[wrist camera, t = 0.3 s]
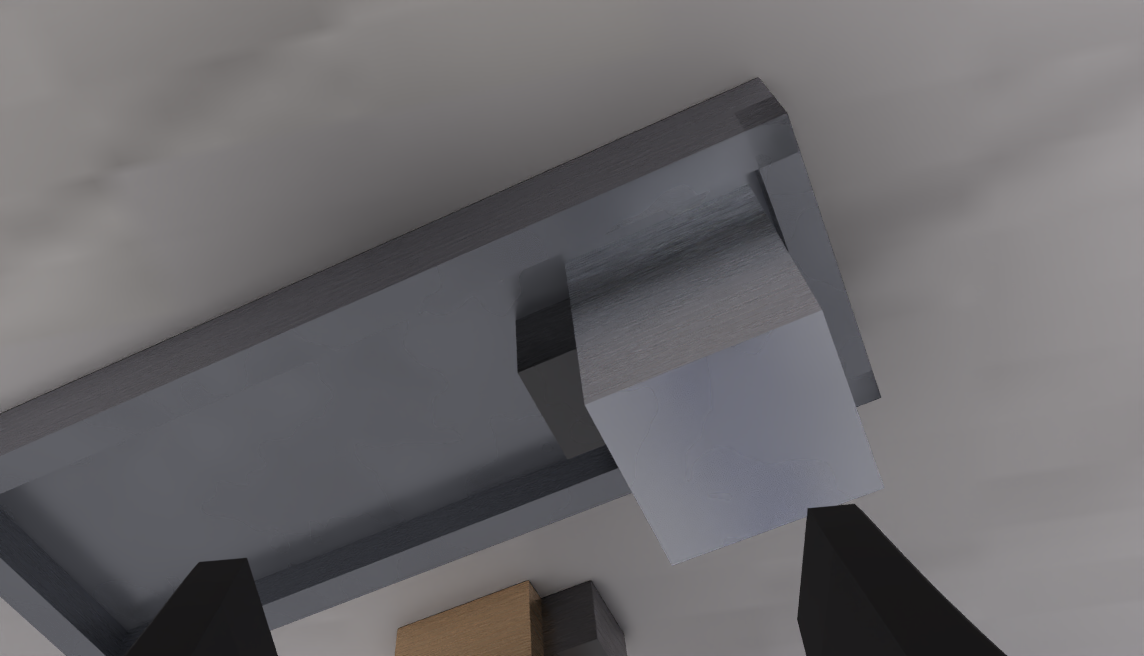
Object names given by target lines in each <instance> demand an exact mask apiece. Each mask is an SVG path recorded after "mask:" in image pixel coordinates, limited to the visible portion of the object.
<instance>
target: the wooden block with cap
mask: <svg viewBox="0 0 1144 656" xmlns="http://www.w3.org/2000/svg"><path fill="white" fill-rule="evenodd" d="M395 656H627V652H626V645H625V638H624V634H623V632H622V630H621V629H620V627H619V625H618V624H617V622H616V621H615V619H614V617H613V616H612V614H611V613H610V611H609V609H608V608H607V606H606V604H605V603H604V601H603V600H602V598H601V596H600V595H599V593H598V591H597V590H596V588H595V587H594V585H593V583H592V582H591V581H588V582H586V583H583V584H580V585H578V586H575V587H572V588H569V589H567V590H564V591H561V592H558V593H556V594H553V595H550V596H548V597H545V598H542V599H541V598H540V597H539V595H538V594H537V592H536V591H535V589H534V588H533V586H532V585H531V583H530V582H529V580H528V581H525V582H523V583H520V584H517V585H515V586H512V587H509V588H507V589H504V590H501V591H498V592H496V593H493V594H490V595H488V596H485V597H482V598H480V599H477V600H474V601H471V602H469V603H466V604H463V605H461V606H458V607H455V608H453V609H450V610H447V611H444V612H442V613H439V614H436V615H434V616H431V617H428V618H426V619H423V620H420V621H417V622H415V623H412V624H409V625H407V626H404V627H401V628H399V629H398V631H397V640H396V649H395Z"/></svg>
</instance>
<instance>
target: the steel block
mask: <svg viewBox="0 0 1144 656" xmlns="http://www.w3.org/2000/svg"><path fill="white" fill-rule="evenodd" d="M565 268H566V275H567V282H568V289H569V296H570V298H568V299H565V300H563V301H560V302H558V303H556V304H553V305H551V306H549V307H546V308H544V309H541V310H539V311H537V312H534V313H532V314H529V315H527V316H525V317H522V318H520V319H518V320H516V346H517V372H518V375H519V376H520V378H521V380H522V382H523V383H524V385H525V387H526V388H527V390H528V392H529V394H530V395H531V397H532V399H533V401H534V402H535V404H536V406H537V407H538V409H539V411H540V413H541V414H542V416H543V418H544V420H545V421H546V423H547V425H548V427H549V428H550V430H551V432H552V433H553V435H554V437H555V439H556V440H557V442H558V444H559V446H560V447H561V449H562V451H563V452H564V454H565V456H566V458H567V459H571V458H573V457H576V456H578V455H581V454H583V453H586V452H588V451H591V450H594V449H596V448H599V447H601V446H604V445H607V447H608V449H609V451H610V453H611V455H612V456H613V458H614V460H615V462H616V464H617V466H618V467H619V469H620V471H621V473H622V475H623V477H624V478H625V480H626V482H627V484H628V486H629V488H630V490H631V491H632V493H633V495H634V497H635V499H636V501H637V502H638V504H639V506H640V508H641V510H642V512H643V513H644V515H645V517H646V519H647V521H648V523H649V525H650V526H651V528H652V530H653V532H654V534H655V536H656V537H657V539H658V541H659V543H660V545H661V547H662V548H663V550H664V552H665V554H666V556H667V558H668V559H669V561H670V563H671V565H672V566H673V565H676V564H678V563H681V562H684V561H687V560H689V559H692V558H695V557H697V556H700V555H703V554H706V553H708V552H711V551H714V550H717V549H719V548H722V547H725V546H727V545H730V544H733V543H736V542H738V541H741V540H744V539H747V538H749V537H752V536H755V535H758V534H760V533H763V532H766V531H768V530H771V529H774V528H777V527H779V526H782V525H785V524H788V523H790V522H793V521H796V520H798V519H801V518H804V517H807V510H808V508H815V507H826V506H837V505H839V504H842V503H845V502H848V501H850V500H853V499H856V498H859V497H861V496H864V495H867V494H869V493H872V492H875V491H878V490H880V489H883V488H884V485H883V482H882V479H881V477H880V474H879V471H878V468H877V465H876V462H875V459H874V457H873V454H872V451H871V448H870V445H869V442H868V439H867V437H866V434H865V431H864V428H863V425H862V422H861V419H860V417H859V414H858V411H857V408H856V405H855V402H854V399H853V397H852V394H851V391H850V388H849V385H848V382H847V380H846V377H845V374H844V371H843V368H842V365H841V362H840V360H839V357H838V354H837V351H836V348H835V345H834V342H833V340H832V337H831V334H830V331H829V328H828V325H827V322H826V320H825V317H824V314H823V311H822V309H821V307H820V305H819V304H818V302H817V300H816V299H815V297H814V295H813V294H812V292H811V290H810V288H809V287H808V285H807V283H806V282H805V280H804V278H803V276H802V275H801V273H800V271H799V270H798V268H797V266H796V265H795V263H794V261H793V259H792V258H791V256H790V254H789V253H788V251H787V249H786V247H785V246H784V244H783V242H782V241H781V239H780V237H779V235H778V234H777V232H776V230H775V229H774V227H773V225H772V224H771V222H770V220H769V218H768V217H767V215H766V213H765V212H764V210H763V208H762V206H761V205H760V203H759V201H758V200H757V198H756V196H755V195H754V193H753V191H752V189H751V188H750V186H749V184H748V185H745V186H743V187H741V188H738V189H736V190H734V191H731V192H729V193H726V194H724V195H722V196H719V197H717V198H715V199H712V200H710V201H708V202H705V203H703V204H701V205H698V206H696V207H694V208H691V209H689V210H687V211H684V212H682V213H680V214H677V215H675V216H673V217H670V218H668V219H666V220H663V221H661V222H658V223H656V224H654V225H651V226H649V227H647V228H644V229H642V230H640V231H637V232H635V233H633V234H630V235H628V236H626V237H623V238H621V239H619V240H616V241H614V242H612V243H609V244H607V245H605V246H602V247H600V248H598V249H595V250H593V251H590V252H588V253H586V254H583V255H581V256H579V257H576V258H574V259H572V260H569V261H567V262H565Z"/></svg>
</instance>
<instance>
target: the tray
mask: <svg viewBox="0 0 1144 656" xmlns="http://www.w3.org/2000/svg"><path fill="white" fill-rule="evenodd" d="M748 184H749V186H750V188H751V189H752V191H753V193H754V195H755V196H756V198H757V200H758V201H759V203H760V205H761V206H762V208H763V210H764V212H765V213H766V215H767V217H768V218H769V220H770V222H771V224H772V225H773V227H774V229H775V230H776V232H777V234H778V235H779V237H780V239H781V241H782V242H783V244H784V246H785V247H786V249H787V251H788V253H789V254H790V256H791V258H792V259H793V261H794V263H795V265H796V266H797V268H798V270H799V271H800V273H801V275H802V276H803V278H804V280H805V282H806V283H807V285H808V287H809V288H810V290H811V292H812V294H813V295H814V297H815V299H816V300H817V302H818V304H819V305H820V307H821V309H822V311H823V314H824V317H825V320H826V322H827V325H828V328H829V331H830V334H831V337H832V340H833V342H834V345H835V348H836V351H837V354H838V357H839V360H840V362H841V365H842V368H843V371H844V374H845V377H846V380H847V382H848V385H849V388H850V391H851V394H852V397H853V399H854V402H855V405H856V407H858V406H861V405H863V404H866V403H868V402H871V401H874V400H876V399H879V398H881V395H880V392H879V389H878V386H877V383H876V380H875V377H874V374H873V371H872V368H871V365H870V362H869V359H868V356H867V353H866V350H865V347H864V344H863V341H862V338H861V335H860V332H859V329H858V326H857V323H856V320H855V317H854V314H853V311H852V308H851V305H850V302H849V298H848V295H847V292H846V289H845V286H844V283H843V280H842V277H841V274H840V271H839V268H838V265H837V262H836V259H835V256H834V253H833V250H832V247H831V244H830V241H829V238H828V235H827V232H826V229H825V226H824V223H823V220H822V217H821V214H820V211H819V208H818V205H817V202H816V198H815V195H814V192H813V189H812V186H811V183H810V180H809V177H808V174H807V171H806V168H805V165H804V162H803V159H802V156H801V153H800V150H799V147H798V144H797V141H796V138H795V135H794V132H793V129H792V126H791V123H790V120H789V117H788V114H787V112H786V111H785V110H784V108H783V107H782V106H781V105H780V103H779V102H778V101H777V100H776V99H775V97H774V96H773V95H772V94H771V92H770V91H769V90H768V89H767V87H766V86H765V85H764V84H763V82H762V81H761V80H760V79H759V78H756V79H754V80H752V81H750V82H747V83H745V84H743V85H741V86H738V87H736V88H734V89H732V90H729V91H727V92H725V93H723V94H720V95H718V96H716V97H714V98H711V99H709V100H707V101H705V102H702V103H700V104H698V105H695V106H693V107H691V108H689V109H686V110H684V111H682V112H680V113H677V114H675V115H673V116H671V117H668V118H666V119H664V120H662V121H659V122H657V123H655V124H653V125H650V126H648V127H646V128H644V129H641V130H639V131H637V132H635V133H632V134H630V135H628V136H626V137H623V138H621V139H619V140H617V141H614V142H612V143H610V144H608V145H605V146H603V147H601V148H599V149H596V150H594V151H592V152H590V153H587V154H585V155H583V156H581V157H578V158H576V159H574V160H572V161H569V162H567V163H565V164H563V165H560V166H558V167H556V168H554V169H551V170H549V171H547V172H545V173H542V174H540V175H538V176H536V177H533V178H531V179H529V180H527V181H524V182H522V183H520V184H518V185H515V186H513V187H511V188H509V189H506V190H504V191H502V192H500V193H497V194H495V195H493V196H490V197H488V198H486V199H484V200H481V201H479V202H477V203H475V204H472V205H470V206H468V207H466V208H463V209H461V210H459V211H457V212H454V213H452V214H450V215H448V216H445V217H443V218H441V219H439V220H436V221H434V222H432V223H430V224H427V225H425V226H423V227H421V228H418V229H416V230H414V231H412V232H409V233H407V234H405V235H403V236H400V237H398V238H396V239H394V240H391V241H389V242H387V243H385V244H382V245H380V246H378V247H376V248H373V249H371V250H369V251H367V252H364V253H362V254H360V255H358V256H355V257H353V258H351V259H349V260H346V261H344V262H342V263H340V264H337V265H335V266H333V267H331V268H328V269H326V270H324V271H322V272H319V273H317V274H315V275H313V276H310V277H308V278H306V279H304V280H301V281H299V282H297V283H294V284H292V285H290V286H288V287H285V288H283V289H281V290H279V291H276V292H274V293H272V294H270V295H267V296H265V297H263V298H261V299H258V300H256V301H254V302H252V303H249V304H247V305H245V306H243V307H240V308H238V309H236V310H234V311H231V312H229V313H227V314H225V315H222V316H220V317H218V318H216V319H213V320H211V321H209V322H207V323H204V324H202V325H200V326H198V327H195V328H193V329H191V330H189V331H186V332H184V333H182V334H180V335H177V336H175V337H173V338H171V339H168V340H166V341H164V342H162V343H159V344H157V345H155V346H153V347H150V348H148V349H146V350H144V351H141V352H139V353H137V354H135V355H132V356H130V357H128V358H126V359H123V360H121V361H119V362H117V363H114V364H112V365H110V366H108V367H105V368H103V369H101V370H99V371H96V372H94V373H92V374H89V375H87V376H85V377H83V378H80V379H78V380H76V381H74V382H71V383H69V384H67V385H65V386H62V387H60V388H58V389H56V390H53V391H51V392H49V393H47V394H44V395H42V396H40V397H38V398H35V399H33V400H31V401H29V402H26V403H24V404H22V405H20V406H17V407H15V408H13V409H11V410H8V411H6V412H4V413H2V414H0V597H1V598H3V599H4V600H5V601H6V602H7V603H8V604H9V605H10V606H11V607H13V608H14V609H15V610H16V611H17V612H18V613H19V614H20V615H21V616H23V617H24V618H25V619H26V620H27V621H28V622H29V623H30V624H31V625H33V626H34V627H35V628H36V629H37V630H38V631H39V632H40V633H41V634H43V635H44V636H45V637H46V638H47V639H48V640H49V641H50V642H51V643H53V644H54V645H55V646H56V647H57V648H58V649H59V650H60V651H61V652H63V653H64V654H65V655H66V656H124V655H125V654H126V653H127V651H128V650H129V649H130V648H131V646H132V645H133V644H134V643H135V641H136V640H137V639H138V637H139V636H140V635H141V634H142V632H143V631H144V630H145V629H146V627H147V626H148V625H149V624H150V622H151V621H152V620H153V619H154V617H155V616H156V615H157V613H158V612H159V611H160V610H161V608H162V607H163V606H164V604H165V603H166V602H167V601H168V599H169V598H170V597H171V596H172V594H173V593H174V592H175V590H176V589H177V588H178V587H179V585H180V584H181V583H182V582H183V580H184V579H185V578H186V577H187V575H188V574H189V573H190V572H191V570H192V569H193V568H194V567H195V566H196V565H197V564H198V563H199V562H204V561H215V560H227V559H238V558H247V559H248V562H249V566H250V569H251V572H252V575H253V578H254V581H255V585H256V588H257V591H258V594H259V597H260V601H261V604H262V607H263V610H264V613H265V616H266V620H267V623H268V626H269V629H270V631H271V630H273V629H276V628H279V627H281V626H284V625H286V624H289V623H292V622H294V621H297V620H300V619H302V618H305V617H307V616H310V615H313V614H315V613H318V612H320V611H323V610H326V609H328V608H331V607H334V606H336V605H339V604H341V603H344V602H347V601H349V600H352V599H355V598H357V597H360V596H362V595H365V594H368V593H370V592H373V591H376V590H378V589H381V588H383V587H386V586H389V585H391V584H394V583H397V582H399V581H402V580H404V579H407V578H410V577H412V576H415V575H417V574H420V573H423V572H425V571H428V570H431V569H433V568H436V567H438V566H441V565H444V564H446V563H449V562H452V561H454V560H457V559H459V558H462V557H465V556H467V555H470V554H473V553H475V552H478V551H480V550H483V549H486V548H488V547H491V546H494V545H496V544H499V543H501V542H504V541H507V540H509V539H512V538H514V537H517V536H520V535H522V534H525V533H528V532H530V531H533V530H535V529H538V528H541V527H543V526H546V525H549V524H551V523H554V522H556V521H559V520H562V519H564V518H567V517H570V516H572V515H575V514H577V513H580V512H583V511H585V510H588V509H591V508H593V507H596V506H598V505H601V504H604V503H606V502H609V501H611V500H614V499H617V498H619V497H622V496H625V495H627V494H630V493H632V491H631V490H630V488H629V486H628V484H627V482H626V480H625V478H624V477H623V475H622V473H621V471H620V469H619V467H618V466H617V464H616V462H615V460H614V458H613V456H612V455H611V453H610V451H609V449H608V447H607V445H604V446H601V447H599V448H596V449H594V450H591V451H588V452H586V453H583V454H581V455H578V456H576V457H573V458H571V459H567V458H566V456H565V454H564V452H563V451H562V449H561V447H560V446H559V444H558V442H557V440H556V439H555V437H554V435H553V433H552V432H551V430H550V428H549V427H548V425H547V423H546V421H545V420H544V418H543V416H542V414H541V413H540V411H539V409H538V407H537V406H536V404H535V402H534V401H533V399H532V397H531V395H530V394H529V392H528V390H527V388H526V387H525V385H524V383H523V382H522V380H521V378H520V376H519V375H518V372H517V346H516V320H518V319H520V318H522V317H525V316H527V315H529V314H532V313H534V312H537V311H539V310H541V309H544V308H546V307H549V306H551V305H553V304H556V303H558V302H560V301H563V300H565V299H568V298H570V296H569V289H568V282H567V275H566V268H565V262H567V261H569V260H572V259H574V258H576V257H579V256H581V255H583V254H586V253H588V252H590V251H593V250H595V249H598V248H600V247H602V246H605V245H607V244H609V243H612V242H614V241H616V240H619V239H621V238H623V237H626V236H628V235H630V234H633V233H635V232H637V231H640V230H642V229H644V228H647V227H649V226H651V225H654V224H656V223H658V222H661V221H663V220H666V219H668V218H670V217H673V216H675V215H677V214H680V213H682V212H684V211H687V210H689V209H691V208H694V207H696V206H698V205H701V204H703V203H705V202H708V201H710V200H712V199H715V198H717V197H719V196H722V195H724V194H726V193H729V192H731V191H734V190H736V189H738V188H741V187H743V186H745V185H748Z"/></svg>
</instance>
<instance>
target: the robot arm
mask: <svg viewBox="0 0 1144 656" xmlns="http://www.w3.org/2000/svg"><path fill="white" fill-rule="evenodd" d="M797 620H798V624H799V628H800V632H801V636H802V640H803V644H804V648H805V652H806V656H1007V655H1006V654H1005V653H1003V652H1002V651H1001V650H1000V649H999V648H998V647H997V646H996V645H995V644H994V643H993V642H991V641H990V640H989V639H988V638H987V637H986V636H985V635H984V634H983V633H982V632H981V631H980V630H979V629H978V628H976V627H975V626H974V625H973V624H972V623H971V622H970V621H969V620H968V619H967V618H966V617H965V616H964V615H963V614H962V613H961V612H960V611H959V610H958V609H957V608H956V607H955V606H954V605H953V604H951V603H950V602H949V601H948V600H947V599H946V598H945V597H944V596H943V595H942V594H941V593H940V592H939V591H938V590H937V589H936V588H935V587H934V586H933V585H932V584H931V583H930V582H929V581H928V580H927V579H926V578H925V577H924V576H923V575H922V574H921V573H920V571H919V570H918V569H917V568H916V567H915V566H914V565H913V564H912V563H911V562H910V561H909V560H908V559H907V558H906V557H905V556H904V555H903V554H902V553H901V552H900V551H899V550H898V549H897V548H896V546H895V545H894V544H893V543H892V542H891V541H890V540H889V539H888V538H887V537H886V536H885V535H884V534H883V533H882V532H881V530H880V529H879V528H878V527H877V526H876V525H875V524H874V523H873V522H872V521H871V520H870V519H869V518H868V516H867V515H866V514H865V513H864V512H863V511H862V510H861V509H860V508H858V507H857V506H856V505H855V504H848V505H837V506H826V507H815V508H808V510H807V521H806V532H805V543H804V553H803V564H802V575H801V585H800V596H799V607H798V617H797ZM124 656H278V655H277V652H276V648H275V645H274V642H273V639H272V636H271V632H270V629H269V626H268V623H267V620H266V616H265V613H264V610H263V607H262V604H261V601H260V597H259V594H258V591H257V588H256V585H255V581H254V578H253V575H252V572H251V569H250V566H249V562H248V559H247V558H238V559H227V560H215V561H204V562H199V563H198V564H197V565H196V566H195V567H194V568H193V569H192V570H191V572H190V573H189V574H188V575H187V577H186V578H185V579H184V580H183V582H182V583H181V584H180V585H179V587H178V588H177V589H176V590H175V592H174V593H173V594H172V596H171V597H170V598H169V599H168V601H167V602H166V603H165V604H164V606H163V607H162V608H161V610H160V611H159V612H158V613H157V615H156V616H155V617H154V619H153V620H152V621H151V622H150V624H149V625H148V626H147V627H146V629H145V630H144V631H143V632H142V634H141V635H140V636H139V637H138V639H137V640H136V641H135V643H134V644H133V645H132V646H131V648H130V649H129V650H128V651H127V653H126V654H125V655H124Z"/></svg>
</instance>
